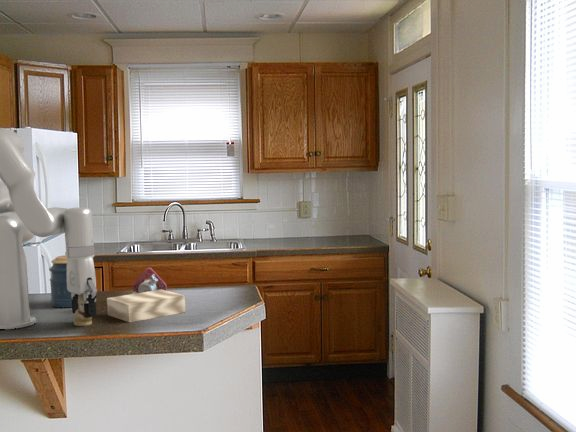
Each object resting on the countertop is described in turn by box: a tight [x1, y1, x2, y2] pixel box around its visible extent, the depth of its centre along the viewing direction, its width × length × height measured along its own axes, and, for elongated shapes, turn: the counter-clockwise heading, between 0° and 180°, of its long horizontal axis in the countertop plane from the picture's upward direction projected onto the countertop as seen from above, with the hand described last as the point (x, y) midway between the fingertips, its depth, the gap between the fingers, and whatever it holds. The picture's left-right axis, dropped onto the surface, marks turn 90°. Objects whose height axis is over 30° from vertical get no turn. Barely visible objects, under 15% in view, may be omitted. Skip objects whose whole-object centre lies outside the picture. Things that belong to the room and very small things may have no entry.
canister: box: [48, 251, 89, 309], centre depth 231 cm, size 13×13×18 cm
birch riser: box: [106, 289, 186, 323], centre depth 214 cm, size 18×14×5 cm
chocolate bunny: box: [72, 291, 93, 327], centre depth 203 cm, size 6×8×10 cm
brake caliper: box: [131, 267, 168, 294], centre depth 230 cm, size 11×11×12 cm
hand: (84, 314), depth 203 cm, fingers closed on chocolate bunny, 7 cm apart
